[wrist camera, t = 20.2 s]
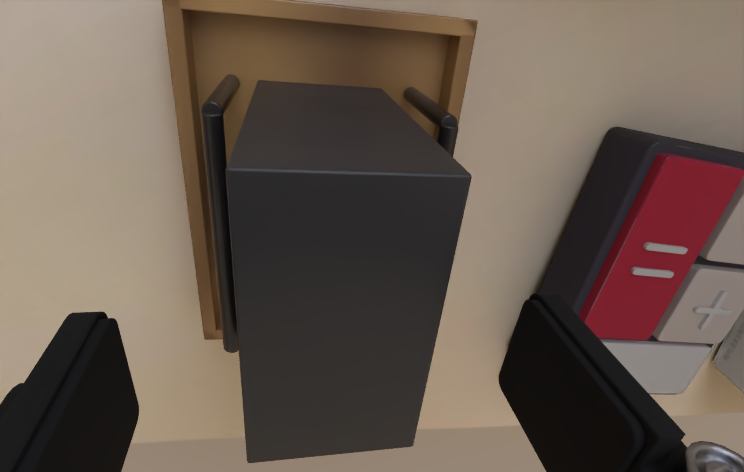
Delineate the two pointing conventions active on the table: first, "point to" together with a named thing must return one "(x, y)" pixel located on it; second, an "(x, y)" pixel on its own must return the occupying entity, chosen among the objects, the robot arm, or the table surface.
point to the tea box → (733, 354)
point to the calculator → (656, 254)
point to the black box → (337, 267)
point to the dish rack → (299, 65)
